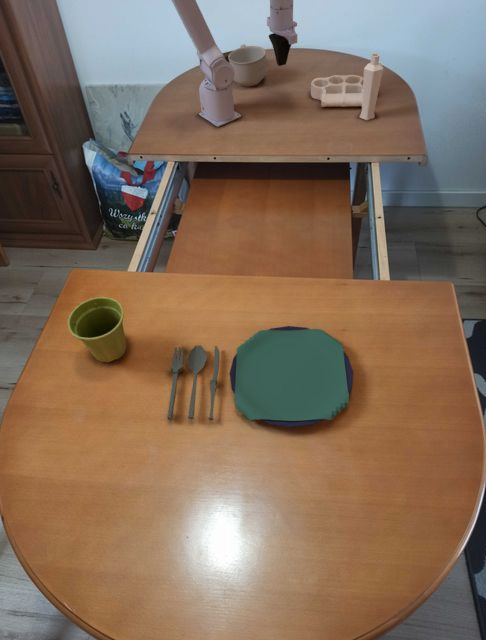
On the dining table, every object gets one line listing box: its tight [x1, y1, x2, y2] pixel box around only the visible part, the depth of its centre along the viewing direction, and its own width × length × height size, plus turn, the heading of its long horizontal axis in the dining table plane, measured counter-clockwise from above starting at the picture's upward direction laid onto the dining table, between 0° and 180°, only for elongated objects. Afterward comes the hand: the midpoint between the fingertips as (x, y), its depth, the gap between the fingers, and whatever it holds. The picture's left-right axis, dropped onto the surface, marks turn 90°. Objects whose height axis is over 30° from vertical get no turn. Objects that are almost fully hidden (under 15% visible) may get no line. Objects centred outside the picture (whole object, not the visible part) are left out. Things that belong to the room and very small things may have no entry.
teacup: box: [228, 44, 267, 87], centre depth 146 cm, size 14×11×8 cm
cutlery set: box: [166, 325, 354, 429], centre depth 81 cm, size 20×30×2 cm, turn 87°
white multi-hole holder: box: [310, 74, 364, 108], centre depth 137 cm, size 3×18×15 cm
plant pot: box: [67, 296, 128, 363], centre depth 85 cm, size 9×9×9 cm
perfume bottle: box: [359, 52, 385, 121], centre depth 125 cm, size 5×4×15 cm
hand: (281, 64), depth 133 cm, fingers closed
